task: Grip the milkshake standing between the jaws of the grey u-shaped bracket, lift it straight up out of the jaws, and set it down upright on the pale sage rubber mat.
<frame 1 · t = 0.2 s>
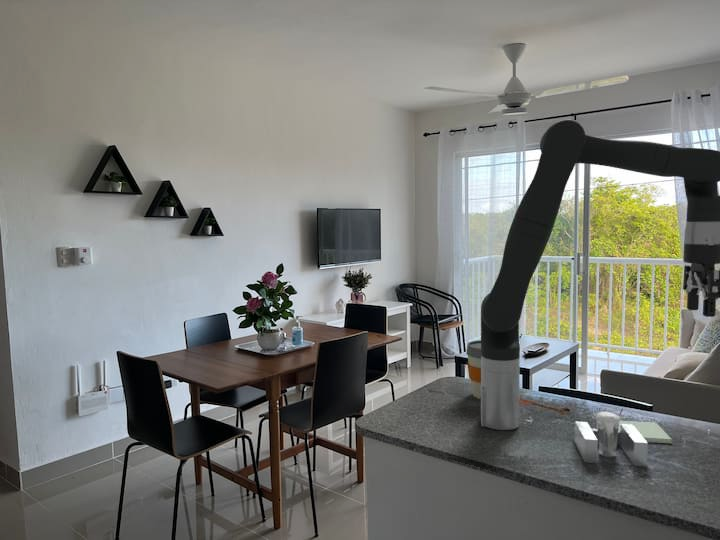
hand: (700, 313, 120), 29 cm above the kitchen counter, tool pointing down, fingers open, 8 cm apart
reusable coffee cup: (488, 395, 153), on the kitchen counter
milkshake: (608, 454, 113), on the kitchen counter
mat: (640, 433, 124), on the kitchen counter
grey u-shaped bracket: (608, 454, 113), on the kitchen counter
key: (542, 409, 143), on the kitchen counter
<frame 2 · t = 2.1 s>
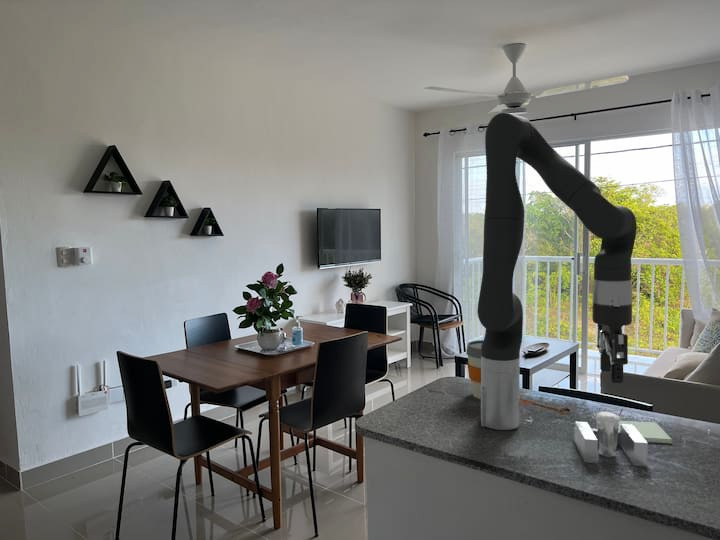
hand: (611, 376, 112), 17 cm above the kitchen counter, tool pointing down, fingers open, 8 cm apart
nothing on the kitchen counter moved.
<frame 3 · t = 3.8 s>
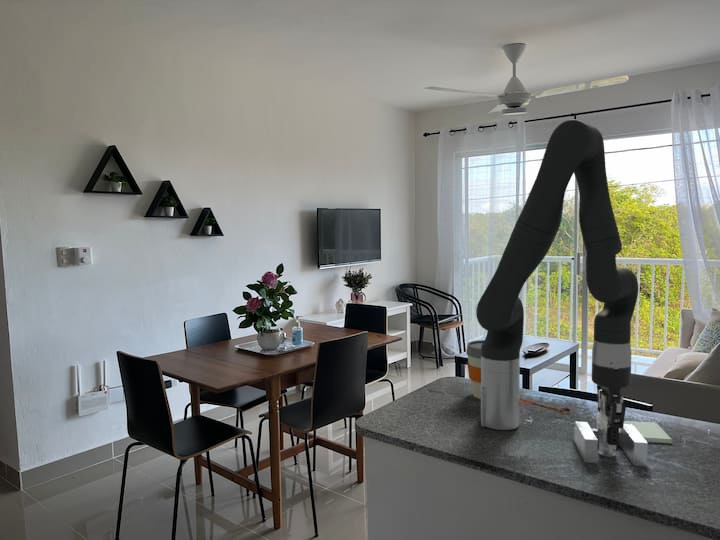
hand: (609, 439, 113), 3 cm above the kitchen counter, tool pointing down, fingers closed on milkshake, 4 cm apart
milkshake: (608, 454, 113), on the kitchen counter, touching gripper
everything else where it was.
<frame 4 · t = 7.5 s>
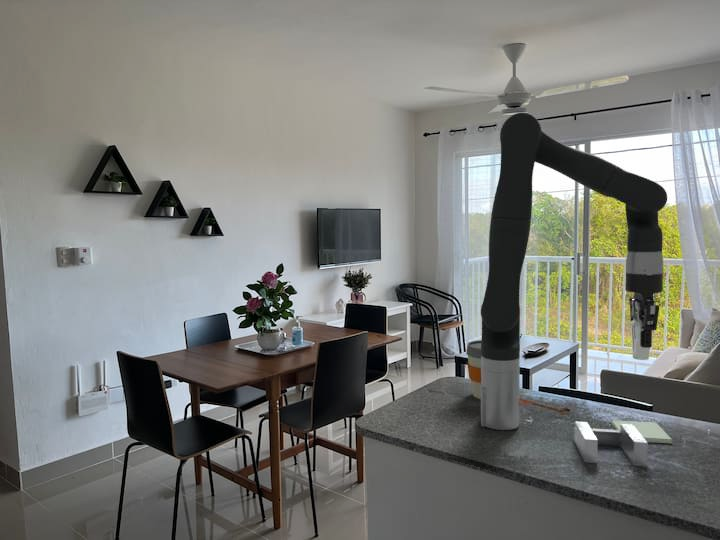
hand: (642, 344, 121), 21 cm above the kitchen counter, tool pointing down, fingers closed on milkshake, 4 cm apart
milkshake: (642, 359, 122), point 18 cm above the kitchen counter, touching gripper
everything else where it was.
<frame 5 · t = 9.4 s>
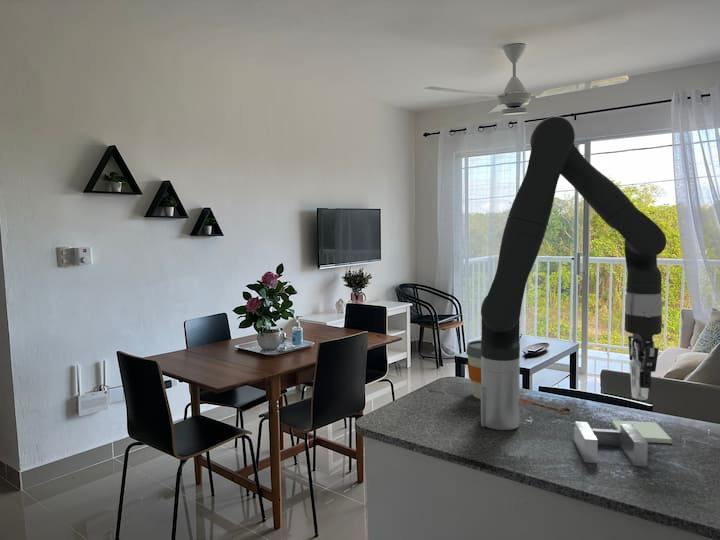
hand: (641, 384, 123), 12 cm above the kitchen counter, tool pointing down, fingers closed on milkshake, 4 cm apart
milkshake: (641, 398, 123), point 8 cm above the kitchen counter, touching gripper
everything else where it was.
when the fingers open (5 cm above the kitchen counter, at t = 11.1 s): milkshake stays where it is, resting on mat.
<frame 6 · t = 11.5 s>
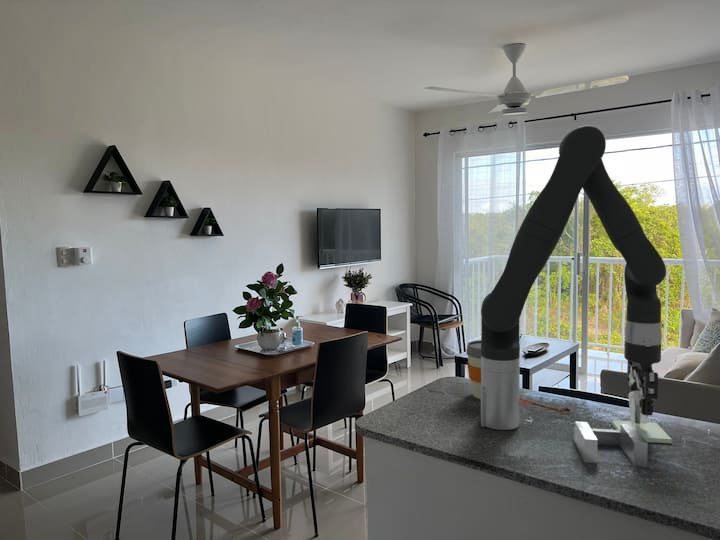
hand: (640, 408, 123), 6 cm above the kitchen counter, tool pointing down, fingers open, 8 cm apart
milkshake: (640, 430, 124), point 1 cm above the kitchen counter, touching mat
everything else where it was.
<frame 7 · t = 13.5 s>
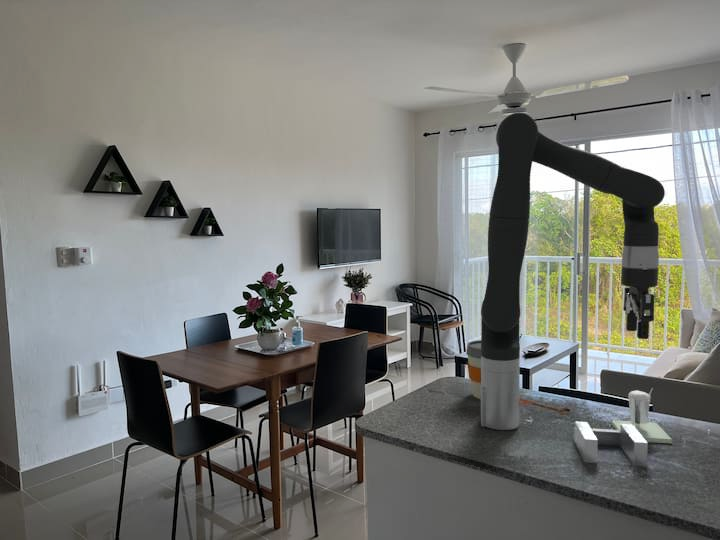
hand: (636, 334, 123), 23 cm above the kitchen counter, tool pointing down, fingers open, 8 cm apart
nothing on the kitchen counter moved.
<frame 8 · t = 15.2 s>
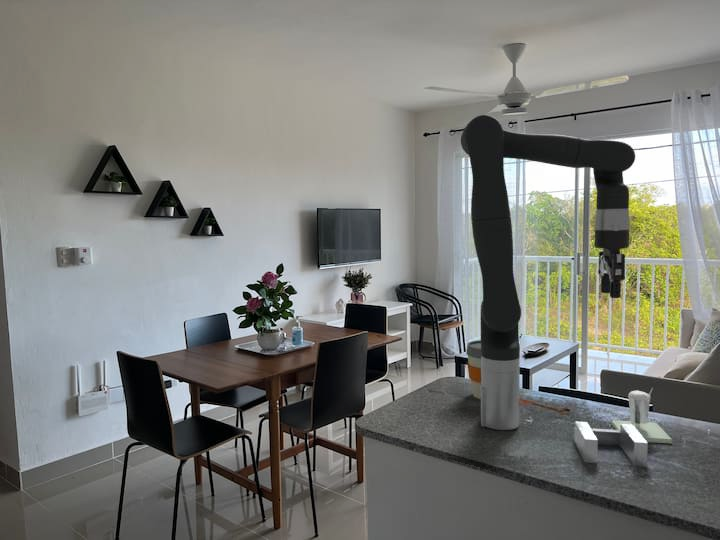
hand: (610, 295, 127), 32 cm above the kitchen counter, tool pointing down, fingers open, 8 cm apart
nothing on the kitchen counter moved.
at the end: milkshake inside the target area on the mat (0.1 cm from its centre), point 0.8 cm above the mat's base; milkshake tilted 0°; the gripper is holding nothing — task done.
